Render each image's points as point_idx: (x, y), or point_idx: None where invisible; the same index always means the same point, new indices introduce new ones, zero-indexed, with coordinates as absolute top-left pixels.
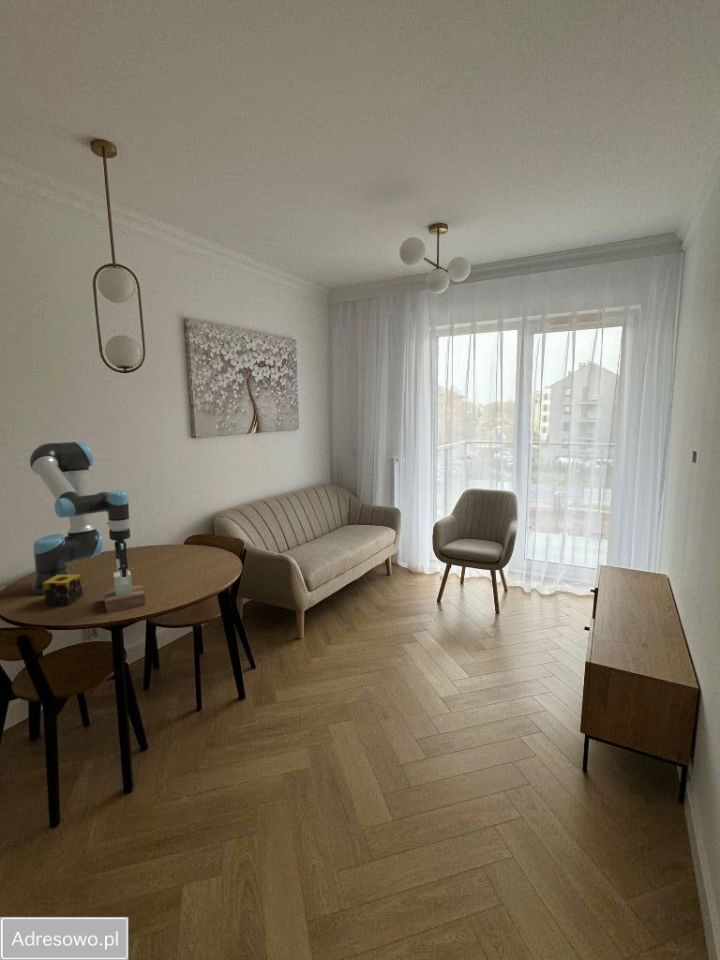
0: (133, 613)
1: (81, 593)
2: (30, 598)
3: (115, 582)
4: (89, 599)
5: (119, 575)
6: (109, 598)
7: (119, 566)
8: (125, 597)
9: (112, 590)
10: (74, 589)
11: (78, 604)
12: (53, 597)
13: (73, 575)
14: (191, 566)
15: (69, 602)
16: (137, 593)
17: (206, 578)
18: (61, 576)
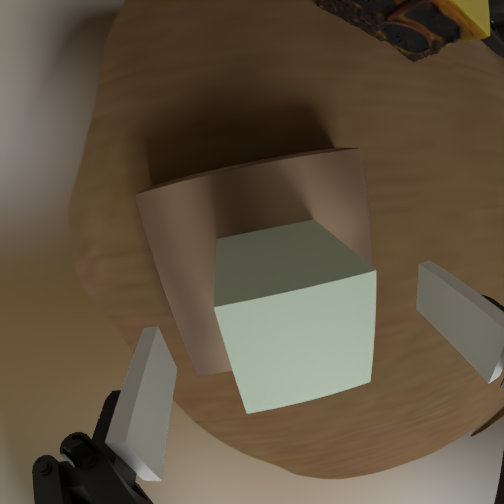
0: (114, 305)
1: (414, 52)
2: None
3: (216, 282)
4: (369, 82)
5: (257, 341)
6: (183, 205)
7: (456, 313)
8: (173, 296)
9: (332, 203)
10: (396, 9)
11: (319, 37)
12: None
13: (478, 5)
14: (471, 390)
15: (324, 1)
16: (221, 346)
17: (367, 447)
18: None
